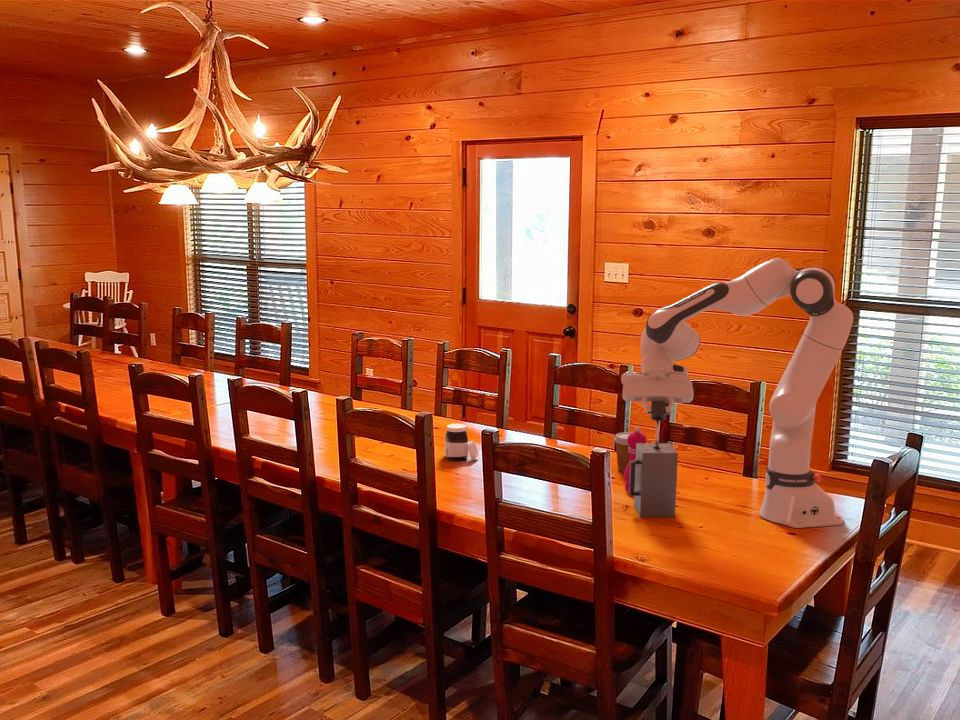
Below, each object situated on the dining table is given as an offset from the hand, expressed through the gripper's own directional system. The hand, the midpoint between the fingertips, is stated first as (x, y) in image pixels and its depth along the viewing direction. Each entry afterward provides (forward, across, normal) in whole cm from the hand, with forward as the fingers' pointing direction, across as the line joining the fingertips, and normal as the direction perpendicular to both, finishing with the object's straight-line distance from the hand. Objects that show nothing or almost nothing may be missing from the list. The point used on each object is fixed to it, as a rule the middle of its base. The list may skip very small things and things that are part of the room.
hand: (658, 413), depth 250 cm
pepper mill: (+7, -4, +36) cm, 36 cm away
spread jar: (-12, -62, +55) cm, 84 cm away
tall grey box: (+21, -1, +21) cm, 30 cm away
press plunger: (+9, 0, +10) cm, 14 cm away
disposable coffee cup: (-7, -5, +50) cm, 50 cm away
